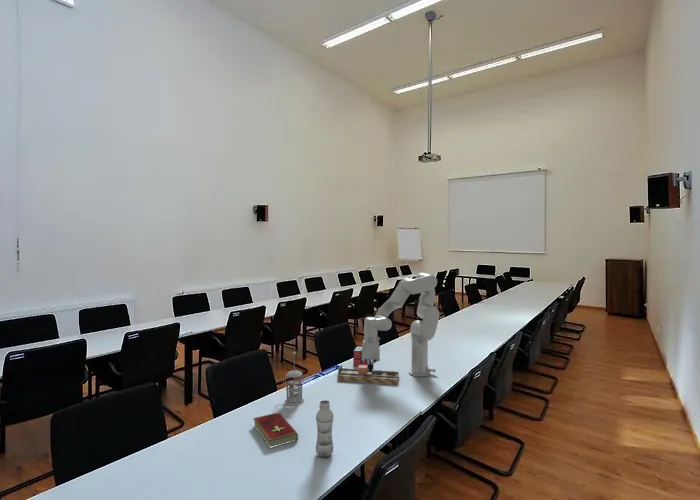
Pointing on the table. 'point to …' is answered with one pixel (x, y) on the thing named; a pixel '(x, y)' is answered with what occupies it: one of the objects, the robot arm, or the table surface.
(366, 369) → the block
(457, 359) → the table surface
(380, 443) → the table surface
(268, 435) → the hardcover book
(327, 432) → the plastic bottle
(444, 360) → the table surface
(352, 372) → the track
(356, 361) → the puzzle cube
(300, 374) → the french press
